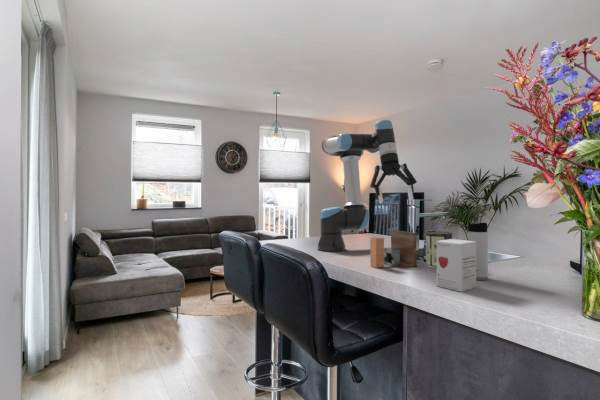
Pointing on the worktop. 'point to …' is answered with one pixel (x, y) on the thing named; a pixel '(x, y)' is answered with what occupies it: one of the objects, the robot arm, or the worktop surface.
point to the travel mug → (480, 248)
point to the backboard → (405, 247)
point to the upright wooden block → (378, 252)
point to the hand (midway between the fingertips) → (396, 201)
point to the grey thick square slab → (395, 257)
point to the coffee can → (434, 246)
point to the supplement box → (456, 264)
